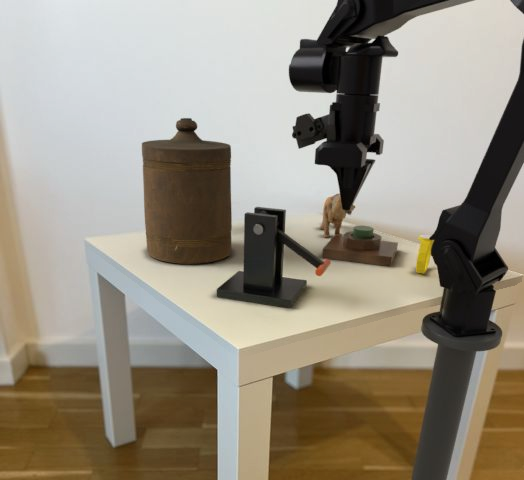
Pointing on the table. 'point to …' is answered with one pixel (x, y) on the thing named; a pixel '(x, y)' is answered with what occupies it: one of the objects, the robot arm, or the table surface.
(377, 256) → the button box
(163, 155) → the wooden container
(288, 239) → the lever
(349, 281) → the table surface
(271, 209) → the bracket
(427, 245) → the watch
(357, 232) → the button
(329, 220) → the lion figurine
